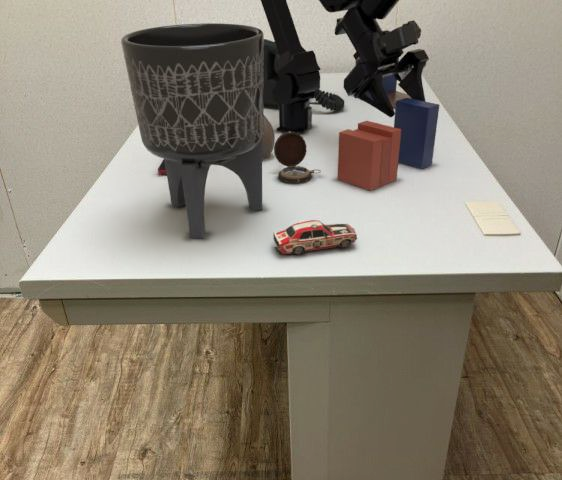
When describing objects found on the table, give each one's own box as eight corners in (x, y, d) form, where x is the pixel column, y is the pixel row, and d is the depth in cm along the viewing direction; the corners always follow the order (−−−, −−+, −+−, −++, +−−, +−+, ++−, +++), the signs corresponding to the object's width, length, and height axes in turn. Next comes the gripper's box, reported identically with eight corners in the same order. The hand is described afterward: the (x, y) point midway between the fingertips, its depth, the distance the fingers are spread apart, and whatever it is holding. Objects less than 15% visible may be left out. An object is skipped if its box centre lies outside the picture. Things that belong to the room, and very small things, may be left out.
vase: (271, 162, 119) (269, 116, 114) (237, 161, 120) (234, 115, 115) (278, 151, 125) (277, 106, 119) (246, 150, 126) (243, 105, 120)
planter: (257, 245, 90) (246, 47, 74) (133, 238, 93) (96, 46, 77) (280, 196, 105) (275, 22, 89) (173, 191, 108) (149, 23, 92)
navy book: (390, 160, 119) (395, 100, 112) (401, 156, 120) (406, 97, 114) (421, 169, 114) (428, 107, 108) (431, 165, 116) (439, 104, 109)
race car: (275, 252, 92) (270, 224, 89) (352, 233, 92) (348, 205, 89) (280, 267, 88) (274, 239, 85) (360, 248, 88) (357, 219, 85)
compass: (282, 185, 109) (281, 144, 105) (274, 171, 115) (273, 131, 111) (325, 181, 110) (325, 140, 106) (314, 167, 117) (315, 128, 112)
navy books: (373, 95, 154) (376, 47, 148) (358, 91, 159) (360, 44, 152) (396, 91, 158) (400, 44, 151) (380, 86, 162) (383, 40, 155)
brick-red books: (337, 179, 111) (338, 129, 106) (363, 169, 115) (366, 120, 109) (370, 190, 106) (373, 138, 101) (396, 180, 110) (401, 129, 105)
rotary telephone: (368, 98, 157) (372, 32, 148) (328, 118, 143) (330, 47, 134) (262, 85, 172) (260, 24, 163) (216, 102, 158) (211, 37, 149)
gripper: (358, 10, 101) (404, 92, 101) (426, -1, 111) (468, 73, 111) (324, 57, 110) (366, 131, 111) (389, 43, 120) (428, 111, 120)
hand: (408, 110), depth 113 cm, fingers open, 9 cm apart
